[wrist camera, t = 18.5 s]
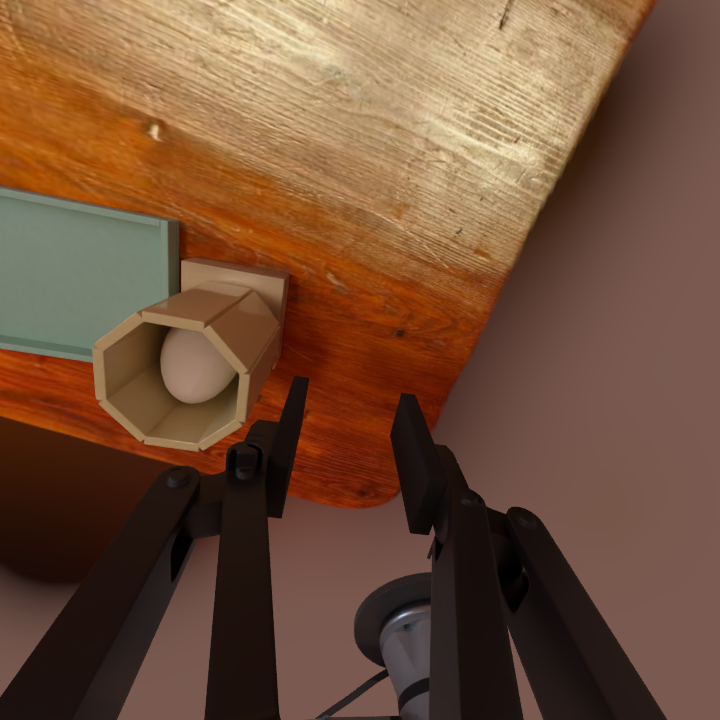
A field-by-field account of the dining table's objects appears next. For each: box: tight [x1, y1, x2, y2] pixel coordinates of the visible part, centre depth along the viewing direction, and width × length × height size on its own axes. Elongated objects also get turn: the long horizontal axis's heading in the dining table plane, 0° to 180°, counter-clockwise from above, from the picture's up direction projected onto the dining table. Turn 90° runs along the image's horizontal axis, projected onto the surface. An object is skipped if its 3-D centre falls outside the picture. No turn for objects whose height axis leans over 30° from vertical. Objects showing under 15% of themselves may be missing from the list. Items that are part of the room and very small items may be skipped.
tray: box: [0, 185, 179, 363], centre depth 29 cm, size 19×13×2 cm
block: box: [181, 257, 290, 369], centre depth 30 cm, size 8×8×3 cm
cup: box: [92, 281, 280, 452], centre depth 24 cm, size 8×8×10 cm
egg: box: [160, 327, 237, 404], centre depth 25 cm, size 5×5×7 cm
